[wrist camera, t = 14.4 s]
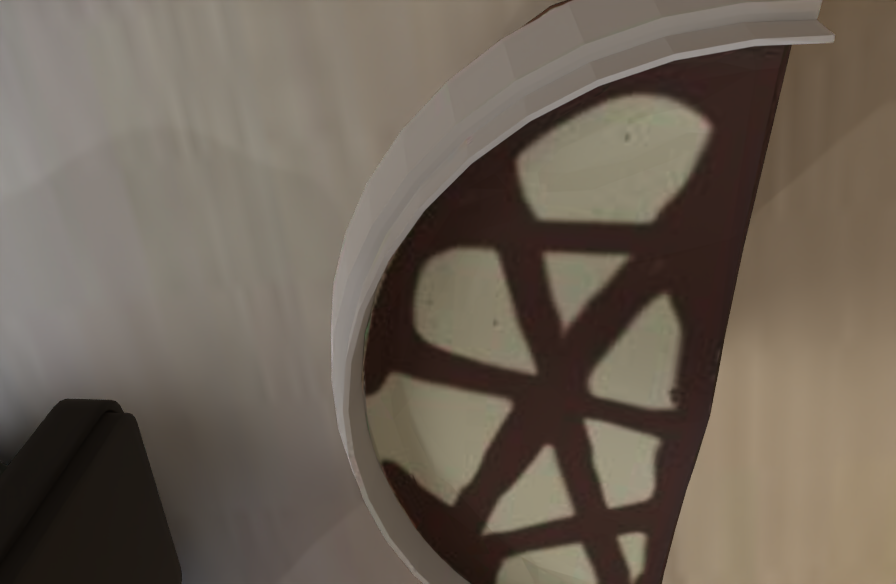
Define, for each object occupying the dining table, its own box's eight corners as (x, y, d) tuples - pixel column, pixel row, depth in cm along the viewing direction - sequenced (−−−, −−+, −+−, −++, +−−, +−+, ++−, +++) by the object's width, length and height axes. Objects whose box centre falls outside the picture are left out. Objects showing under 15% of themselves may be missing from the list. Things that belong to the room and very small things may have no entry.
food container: (394, -107, 17) (272, -45, 9) (683, -94, 17) (850, -17, 9) (394, 364, 24) (320, 673, 15) (606, 380, 23) (658, 705, 15)
